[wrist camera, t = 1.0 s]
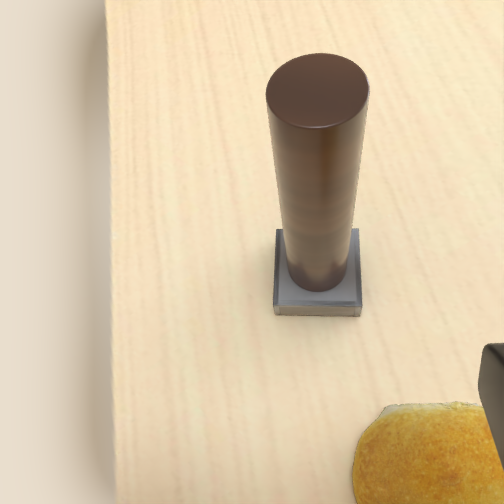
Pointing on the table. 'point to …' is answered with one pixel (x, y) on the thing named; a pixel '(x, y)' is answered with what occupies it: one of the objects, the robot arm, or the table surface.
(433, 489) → the bread roll
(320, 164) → the handled stamp
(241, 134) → the table surface
